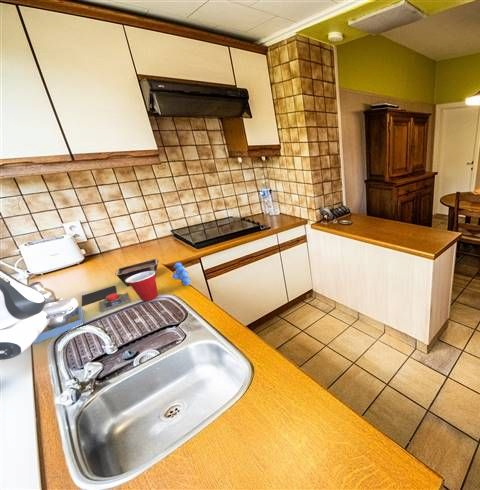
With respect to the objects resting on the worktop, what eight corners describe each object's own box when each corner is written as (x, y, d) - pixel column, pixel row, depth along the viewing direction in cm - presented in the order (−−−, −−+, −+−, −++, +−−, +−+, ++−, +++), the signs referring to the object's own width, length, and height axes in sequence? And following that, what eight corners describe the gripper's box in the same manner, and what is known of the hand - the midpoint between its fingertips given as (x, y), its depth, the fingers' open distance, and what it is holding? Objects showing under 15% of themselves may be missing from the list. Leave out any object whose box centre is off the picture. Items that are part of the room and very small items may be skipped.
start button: (107, 302, 116) (106, 298, 116) (107, 298, 119) (105, 295, 118) (118, 298, 119) (116, 295, 118) (118, 295, 121) (116, 292, 120)
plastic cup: (161, 288, 130) (152, 267, 125) (167, 296, 123) (157, 274, 118) (133, 298, 122) (122, 276, 118) (137, 307, 116) (126, 284, 111)
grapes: (172, 284, 133) (163, 263, 128) (187, 278, 138) (179, 258, 133) (180, 291, 126) (171, 269, 121) (195, 285, 131) (187, 264, 126)
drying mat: (82, 306, 119) (81, 305, 118) (82, 296, 127) (81, 295, 126) (117, 295, 126) (116, 294, 126) (115, 286, 134) (114, 285, 134)
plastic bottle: (54, 324, 108) (26, 282, 100) (76, 319, 110) (50, 277, 102) (44, 334, 102) (14, 291, 94) (67, 328, 105) (39, 285, 97)
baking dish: (127, 280, 143) (115, 265, 138) (165, 266, 151) (155, 251, 146) (124, 293, 133) (111, 278, 128) (165, 277, 140) (154, 262, 135)
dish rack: (33, 344, 97) (28, 338, 96) (37, 327, 106) (33, 321, 105) (84, 325, 106) (80, 319, 105) (84, 311, 115) (81, 305, 114)
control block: (101, 313, 114) (97, 307, 112) (100, 304, 119) (97, 299, 118) (130, 302, 120) (128, 296, 119) (128, 295, 126) (126, 289, 125)
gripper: (65, 304, 95) (79, 287, 106) (-22, 326, 86) (4, 305, 97) (74, 318, 97) (86, 300, 109) (-9, 341, 88) (14, 319, 99)
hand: (47, 302), depth 103 cm, fingers closed on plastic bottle, 6 cm apart
